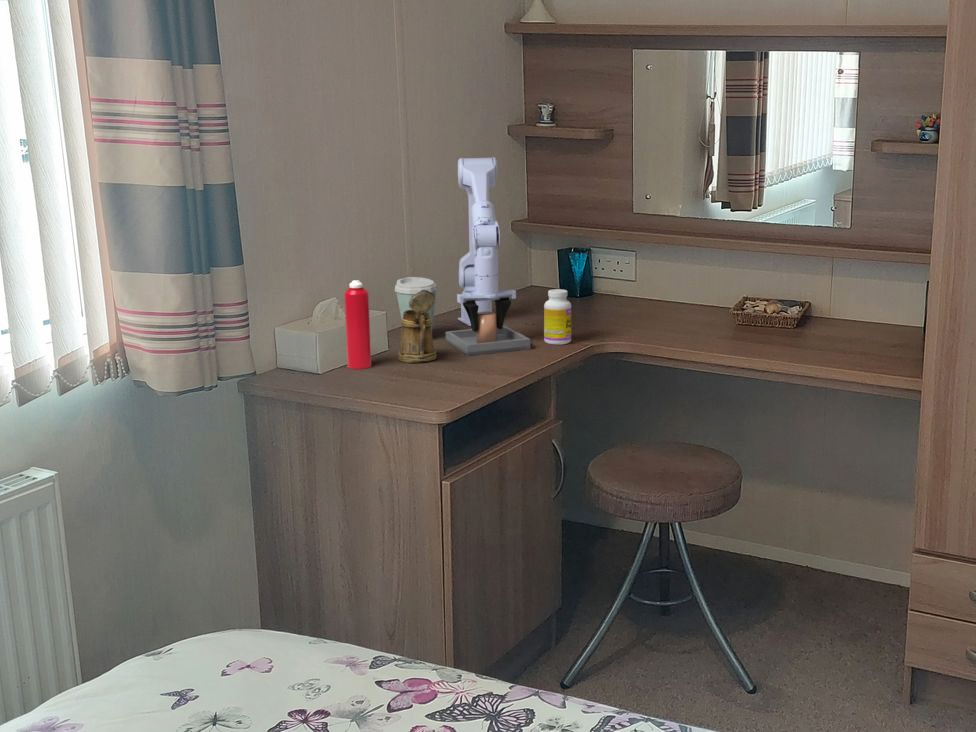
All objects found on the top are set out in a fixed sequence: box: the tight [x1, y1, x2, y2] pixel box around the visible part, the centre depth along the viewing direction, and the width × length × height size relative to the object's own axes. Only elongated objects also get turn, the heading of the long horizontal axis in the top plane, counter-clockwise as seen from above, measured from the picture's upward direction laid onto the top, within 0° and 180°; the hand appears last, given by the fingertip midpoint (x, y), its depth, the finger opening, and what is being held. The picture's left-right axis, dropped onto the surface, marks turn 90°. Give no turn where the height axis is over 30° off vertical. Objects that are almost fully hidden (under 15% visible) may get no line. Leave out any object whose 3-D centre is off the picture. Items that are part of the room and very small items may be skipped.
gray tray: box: [445, 325, 531, 357], centre depth 287 cm, size 16×16×2 cm
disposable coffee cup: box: [394, 276, 438, 333], centre depth 293 cm, size 11×11×15 cm
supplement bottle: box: [543, 288, 572, 346], centre depth 288 cm, size 7×7×13 cm
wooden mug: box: [397, 290, 437, 364], centre depth 271 cm, size 9×14×18 cm, turn 17°
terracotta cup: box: [476, 311, 497, 343], centre depth 287 cm, size 5×5×7 cm
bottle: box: [343, 279, 372, 370], centre depth 267 cm, size 5×5×20 cm
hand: (487, 329), depth 286 cm, fingers open, 6 cm apart
